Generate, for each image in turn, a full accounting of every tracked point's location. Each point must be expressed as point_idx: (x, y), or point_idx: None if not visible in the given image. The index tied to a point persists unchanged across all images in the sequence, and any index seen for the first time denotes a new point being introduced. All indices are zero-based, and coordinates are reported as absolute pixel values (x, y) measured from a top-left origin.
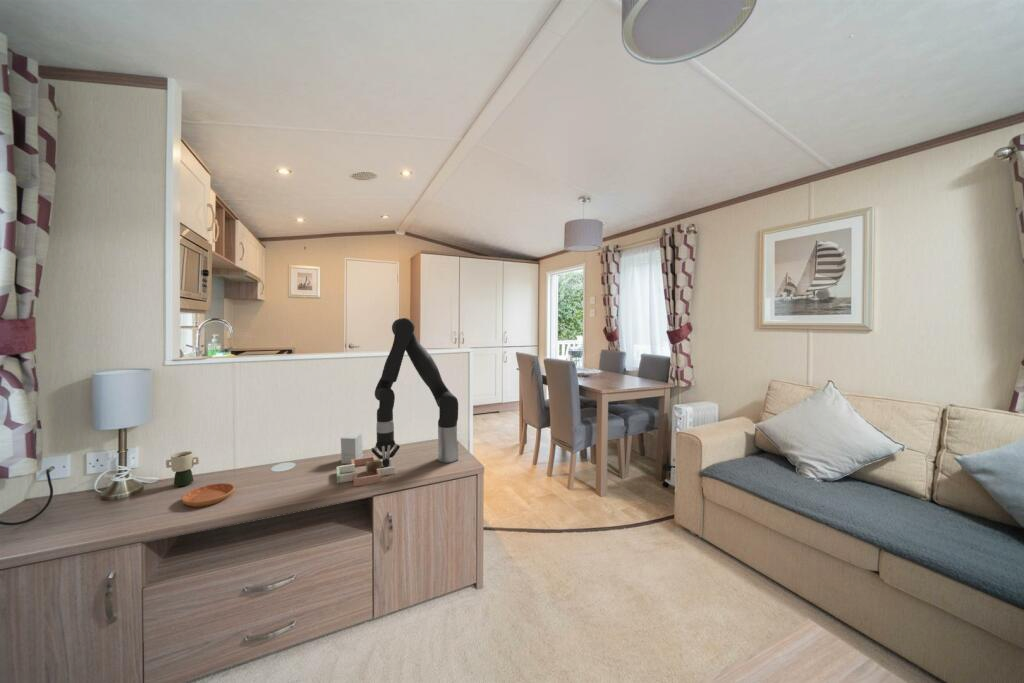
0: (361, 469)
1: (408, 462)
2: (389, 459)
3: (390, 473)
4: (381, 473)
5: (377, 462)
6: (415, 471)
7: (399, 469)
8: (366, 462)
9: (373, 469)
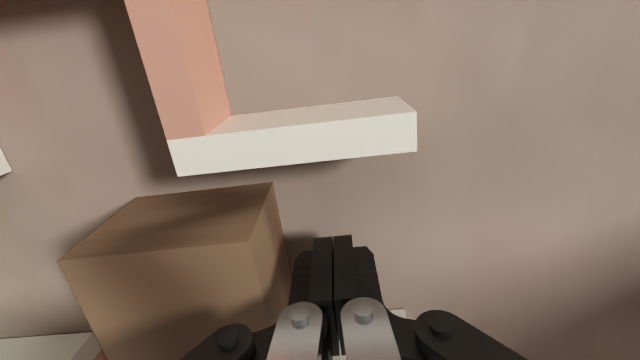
0: (68, 143)
1: (623, 88)
2: (391, 151)
3: None
4: None
5: None
6: (590, 334)
7: (465, 257)
8: (75, 291)
9: None
